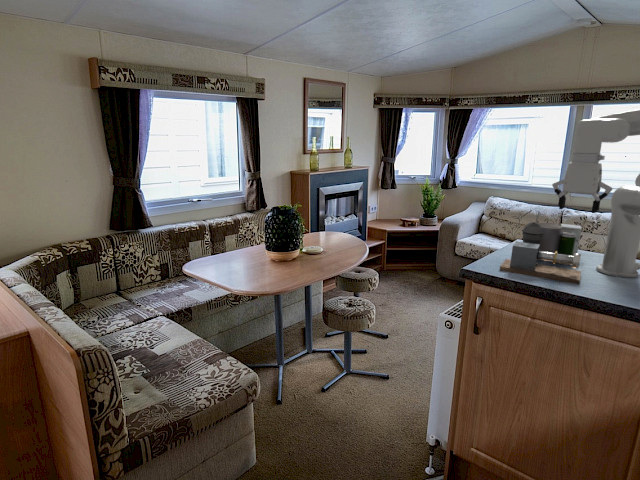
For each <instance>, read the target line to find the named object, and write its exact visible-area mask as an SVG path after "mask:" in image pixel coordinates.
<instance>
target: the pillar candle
mask: <svg viewBox="0 0 640 480" xmlns="http://www.w3.org/2000/svg"><path fill="white" fill-rule="evenodd" d="M537 223H538V224H539V225H540V226H541V227H542V229H543V235H542V238H541V240H540V249H539V251H543V252H550V253H555V251H558V245H559V239H560V234H561V230H562V227H561V226H560V224H555V223H550V222H549V221H548V222H537ZM538 261H542V262H548V261H547V260H540V259H538Z"/></svg>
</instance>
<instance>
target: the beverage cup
mask: <svg viewBox="0 0 640 480" xmlns="http://www.w3.org/2000/svg"><path fill="white" fill-rule="evenodd" d="M540 212H541V211H538V212H537V216H536V220H535V221H534V222H529V223H527V224H526V225H525V226H524V227H523V229H522V242H525V243H533V244H540V240H541V238H542V235H543V229H542V227H541V226H540V225H539V224H538V223H539V222H538V219H539V217H540V214H541V213H540Z"/></svg>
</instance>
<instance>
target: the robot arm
mask: <svg viewBox="0 0 640 480" xmlns="http://www.w3.org/2000/svg"><path fill="white" fill-rule="evenodd" d="M574 135H575V136H574V141H573V149H572V156H571V161H570V162H568V165H567V168H566V172H565V175H564V179H561V180H559V181H556V182H554V183H552V188H553V190H554V192H555V194H556V195H557V197H558V205H557V206H558V207H559V208H558V210H563V209H565V207H566V200H567V196H566V195H567V194H579V195H580V194H581V195H590V196H592V197H593V199H594V200H593V201H592V208H591V213H592V214H595V213H597V212H598V211H599V210H600V205H601V200H603V199H605V198H606V197H608V196H609V194H610V193H612V191H613V187H612V186H610V185H608V184H606V183H605V182H603V181H602V177H603V176H602V175H603V168H602V167H603V166H602V165H603V164H602V163H600V161H604V160H605V158H606V155H603V154H602V153H601V151H602V144H603V143H610V144H611V143H614V144H615V143H619V142H622V141H623V140H626V138H627V137H633V136H640V108H638V109H634V110H628V111H623V112H618V113H611V114H607V115H602V116H596V117H593V118H590V119H588V118H587V119H582V120H578V122H577V123H576V129H575V134H574ZM634 184H635V185H624V186H620V187H618V188H617V189H615V190H614V191H613V193H612V194H611V195H612V196H611V202H610V204H611V205H610V206H611V208H610V209H611V216H610V223H609V228H608V232H607V233H608V234H607V239H606V243H605V249H604V254H603V259H602V263H600V264H598V265H596V269H595V270H596V271H598V272H600V273H602V274H605V275H609V276H613V277H618V278H619V277H620V278H630V279H633V278H637V277H638V276H639V272H638V271H639V270H640V262H637V255H638V250H639V248H640V173H638V175H637V176H636V177H635V182H634ZM560 185H562V190H561V189H560V188H559V187H560ZM601 188H602V189H603V190H604V192H603V193H601V194H600V192H601Z"/></svg>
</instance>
